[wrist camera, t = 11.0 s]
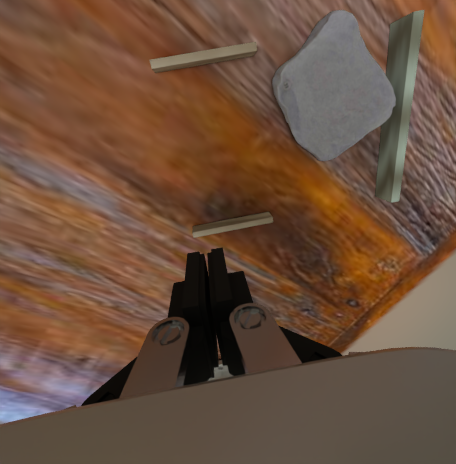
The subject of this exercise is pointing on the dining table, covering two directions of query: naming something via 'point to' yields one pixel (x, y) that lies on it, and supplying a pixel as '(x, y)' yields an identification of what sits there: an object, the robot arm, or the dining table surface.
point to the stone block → (333, 88)
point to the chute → (392, 131)
